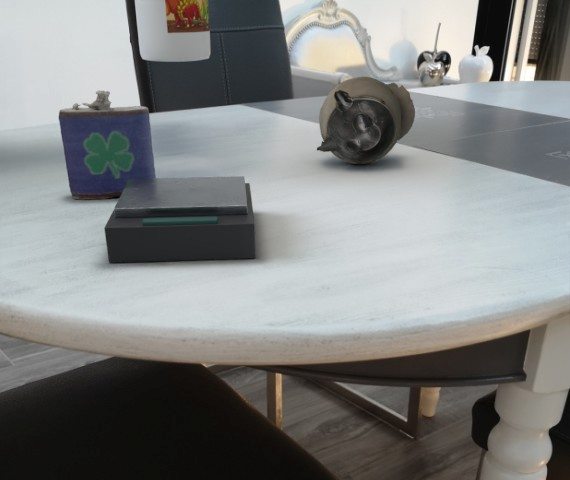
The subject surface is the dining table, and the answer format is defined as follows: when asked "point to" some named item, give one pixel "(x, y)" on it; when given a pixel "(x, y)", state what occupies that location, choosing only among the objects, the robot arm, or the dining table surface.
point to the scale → (181, 237)
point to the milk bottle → (173, 30)
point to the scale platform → (182, 197)
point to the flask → (105, 147)
